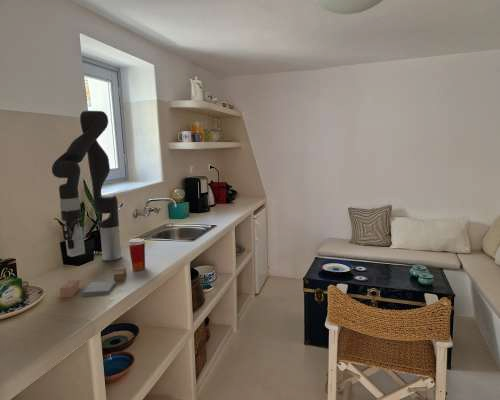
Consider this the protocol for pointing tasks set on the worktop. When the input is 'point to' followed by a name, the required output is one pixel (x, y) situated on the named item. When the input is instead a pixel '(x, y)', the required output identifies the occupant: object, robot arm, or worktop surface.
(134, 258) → the paper cup
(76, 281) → the terracotta brick
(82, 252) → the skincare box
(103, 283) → the slate slab
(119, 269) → the walnut brick
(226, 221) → the worktop surface
